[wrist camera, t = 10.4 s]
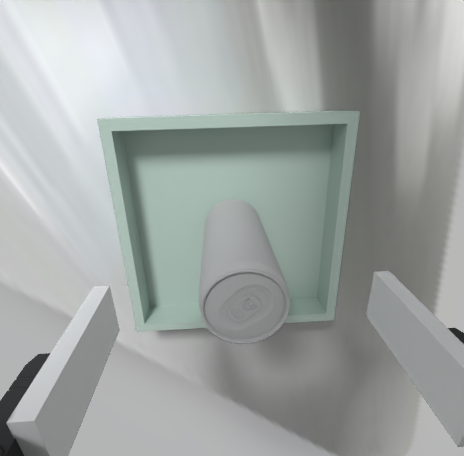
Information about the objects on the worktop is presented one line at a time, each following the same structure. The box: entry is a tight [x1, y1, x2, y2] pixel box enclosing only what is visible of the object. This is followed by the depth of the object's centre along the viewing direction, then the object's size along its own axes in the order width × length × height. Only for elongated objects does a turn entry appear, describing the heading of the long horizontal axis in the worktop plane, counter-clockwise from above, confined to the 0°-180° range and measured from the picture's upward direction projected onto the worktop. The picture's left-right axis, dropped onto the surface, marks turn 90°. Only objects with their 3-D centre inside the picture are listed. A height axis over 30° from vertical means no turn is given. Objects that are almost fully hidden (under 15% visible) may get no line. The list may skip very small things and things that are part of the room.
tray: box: [97, 110, 360, 332], centre depth 25 cm, size 18×18×3 cm
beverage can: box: [198, 199, 289, 344], centre depth 21 cm, size 5×5×12 cm
